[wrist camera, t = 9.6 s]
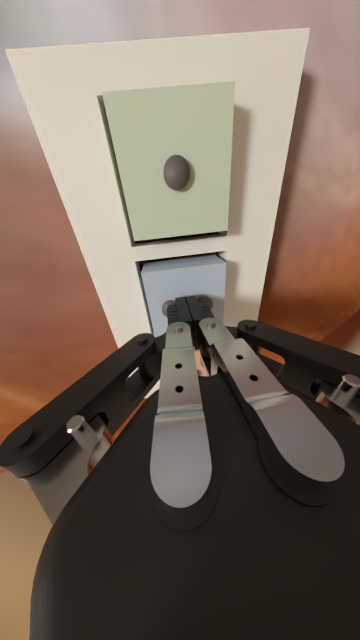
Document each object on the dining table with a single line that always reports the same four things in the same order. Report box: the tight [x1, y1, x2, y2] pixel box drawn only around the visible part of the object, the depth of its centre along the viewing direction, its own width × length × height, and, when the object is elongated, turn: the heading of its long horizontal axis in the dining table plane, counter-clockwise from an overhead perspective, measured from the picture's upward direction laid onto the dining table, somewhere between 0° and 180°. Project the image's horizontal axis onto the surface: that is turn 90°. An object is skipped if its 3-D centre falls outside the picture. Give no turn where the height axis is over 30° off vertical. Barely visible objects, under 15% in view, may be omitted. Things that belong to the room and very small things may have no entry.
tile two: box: [141, 255, 226, 337], centre depth 14 cm, size 6×6×3 cm
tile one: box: [102, 81, 235, 241], centre depth 10 cm, size 6×6×3 cm
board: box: [5, 28, 310, 398], centre depth 15 cm, size 14×26×2 cm, turn 5°
